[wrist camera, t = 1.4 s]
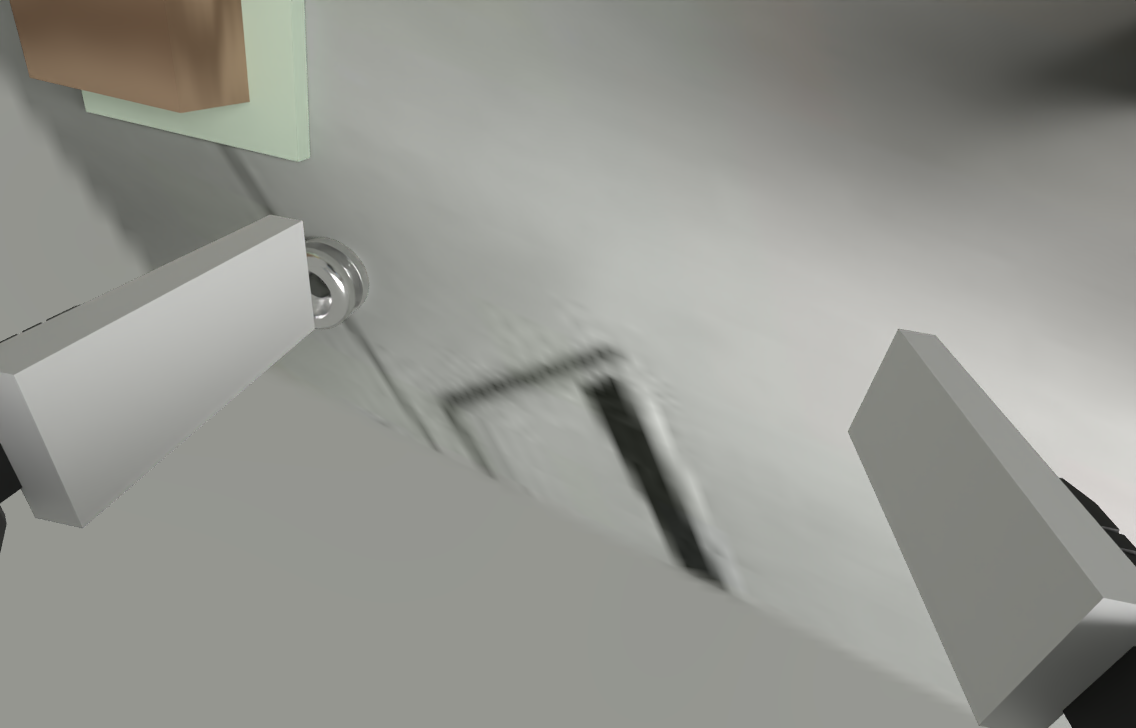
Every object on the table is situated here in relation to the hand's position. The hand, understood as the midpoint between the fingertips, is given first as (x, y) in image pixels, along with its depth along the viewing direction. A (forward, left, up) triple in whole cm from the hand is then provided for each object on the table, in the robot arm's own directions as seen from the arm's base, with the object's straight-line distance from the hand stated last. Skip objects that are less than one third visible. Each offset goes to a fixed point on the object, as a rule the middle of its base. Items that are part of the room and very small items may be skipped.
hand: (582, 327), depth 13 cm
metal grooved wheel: (+11, -16, -20) cm, 28 cm away
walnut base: (-2, -23, -18) cm, 30 cm away
